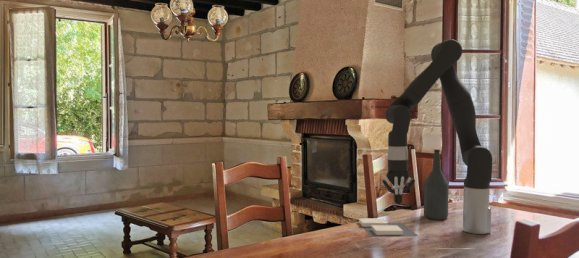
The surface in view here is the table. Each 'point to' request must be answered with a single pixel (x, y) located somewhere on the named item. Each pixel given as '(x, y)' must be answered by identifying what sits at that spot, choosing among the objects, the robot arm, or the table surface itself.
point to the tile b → (387, 230)
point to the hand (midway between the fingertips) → (397, 204)
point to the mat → (405, 233)
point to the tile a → (372, 221)
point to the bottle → (436, 192)
